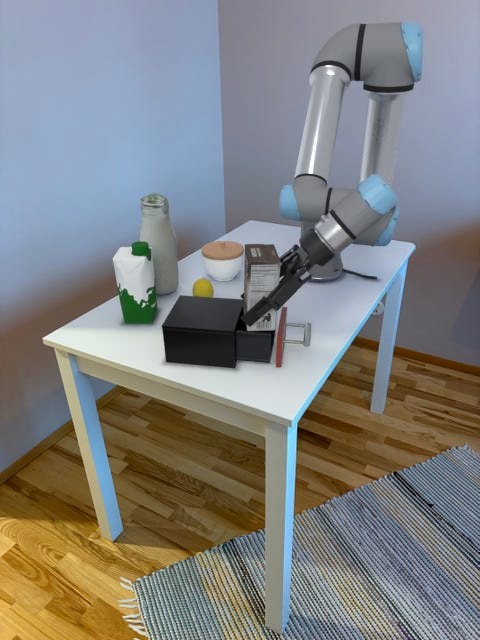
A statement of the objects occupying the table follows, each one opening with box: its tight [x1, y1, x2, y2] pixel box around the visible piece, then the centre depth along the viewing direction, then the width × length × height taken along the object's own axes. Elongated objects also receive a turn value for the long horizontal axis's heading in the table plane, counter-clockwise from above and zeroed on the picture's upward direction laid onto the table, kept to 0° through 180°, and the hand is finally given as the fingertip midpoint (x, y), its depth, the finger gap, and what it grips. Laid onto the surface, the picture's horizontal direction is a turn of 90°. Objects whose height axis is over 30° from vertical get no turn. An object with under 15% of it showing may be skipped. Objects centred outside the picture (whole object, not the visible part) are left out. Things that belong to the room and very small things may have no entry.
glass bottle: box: [138, 193, 180, 296], centre depth 126 cm, size 10×10×28 cm
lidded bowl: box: [200, 240, 245, 282], centre depth 139 cm, size 13×13×11 cm
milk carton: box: [112, 240, 158, 324], centre depth 116 cm, size 9×9×20 cm
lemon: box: [192, 277, 214, 298], centre depth 124 cm, size 6×6×8 cm
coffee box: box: [243, 243, 281, 331], centre depth 98 cm, size 9×6×16 cm
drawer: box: [235, 306, 312, 368], centre depth 103 cm, size 20×13×8 cm, turn 81°
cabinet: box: [161, 294, 244, 369], centre depth 105 cm, size 16×14×10 cm
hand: (245, 310), depth 100 cm, fingers closed on coffee box, 9 cm apart
